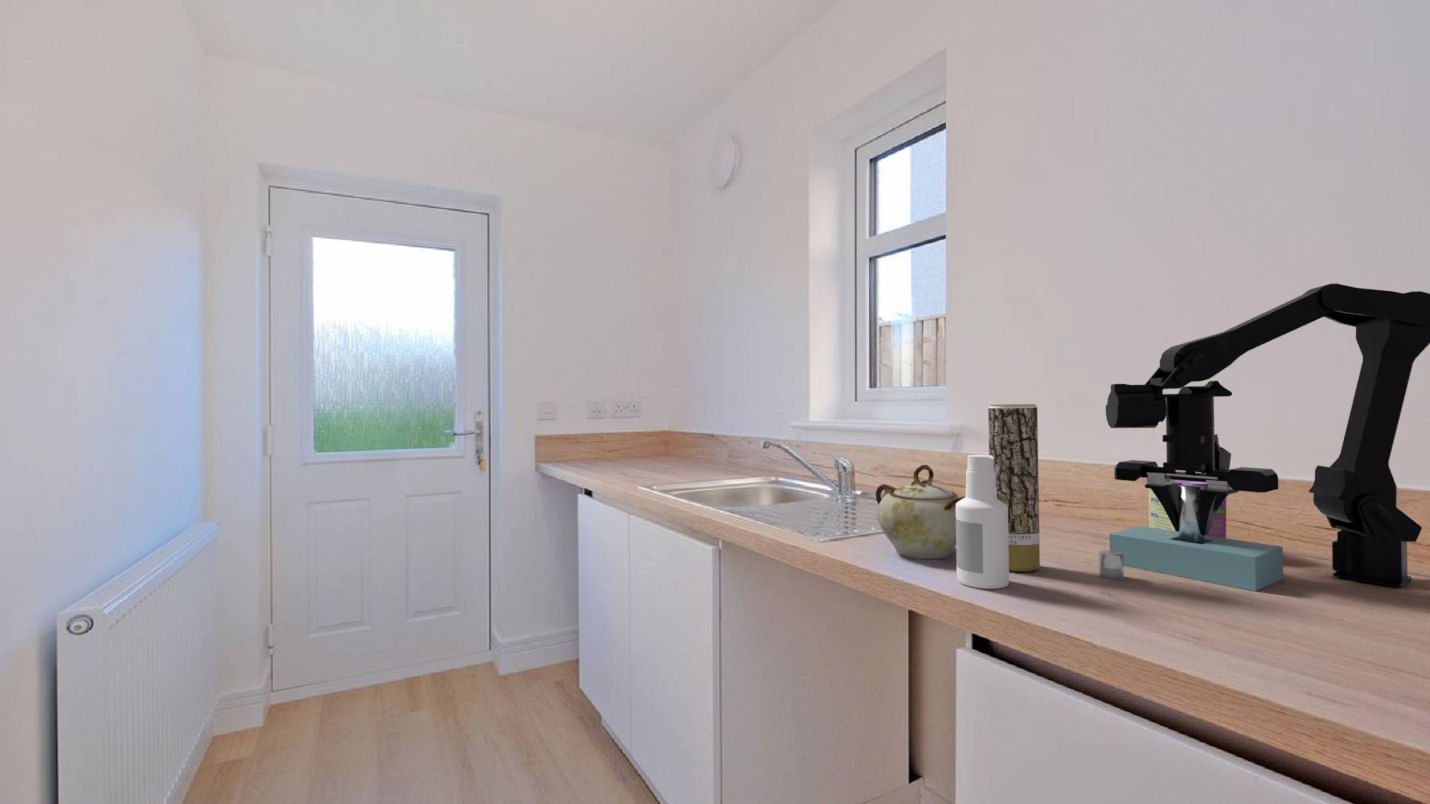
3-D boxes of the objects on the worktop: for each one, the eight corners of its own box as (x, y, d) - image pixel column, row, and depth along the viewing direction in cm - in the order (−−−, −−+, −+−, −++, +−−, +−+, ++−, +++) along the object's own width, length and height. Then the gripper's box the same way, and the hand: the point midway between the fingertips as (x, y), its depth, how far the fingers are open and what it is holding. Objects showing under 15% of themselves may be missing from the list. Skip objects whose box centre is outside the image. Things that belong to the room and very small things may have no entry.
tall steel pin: (1208, 547, 92) (1206, 486, 92) (1199, 550, 91) (1198, 488, 91) (1184, 543, 95) (1183, 484, 95) (1175, 546, 93) (1174, 486, 93)
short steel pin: (1127, 578, 90) (1127, 553, 90) (1117, 581, 88) (1117, 556, 88) (1105, 573, 92) (1105, 549, 92) (1095, 576, 91) (1094, 552, 91)
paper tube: (1046, 574, 92) (1043, 404, 92) (996, 572, 94) (993, 405, 93) (1032, 562, 99) (1029, 404, 99) (986, 560, 100) (983, 404, 100)
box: (1228, 556, 100) (1227, 483, 100) (1191, 557, 100) (1190, 483, 100) (1181, 542, 111) (1180, 475, 110) (1148, 542, 111) (1147, 475, 111)
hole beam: (1282, 578, 88) (1282, 546, 88) (1255, 591, 83) (1255, 557, 83) (1140, 553, 103) (1140, 525, 103) (1109, 562, 98) (1109, 533, 98)
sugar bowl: (1003, 557, 102) (1001, 465, 102) (948, 573, 94) (946, 473, 93) (903, 537, 118) (902, 457, 118) (849, 549, 110) (847, 463, 110)
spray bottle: (965, 573, 93) (963, 452, 93) (1014, 581, 89) (1012, 454, 89) (950, 584, 88) (947, 456, 88) (1001, 593, 84) (999, 458, 84)
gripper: (1291, 427, 89) (1293, 536, 89) (1145, 424, 105) (1147, 517, 105) (1262, 430, 83) (1264, 548, 83) (1111, 427, 99) (1113, 525, 99)
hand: (1191, 533), depth 93 cm, fingers closed on tall steel pin, 3 cm apart
